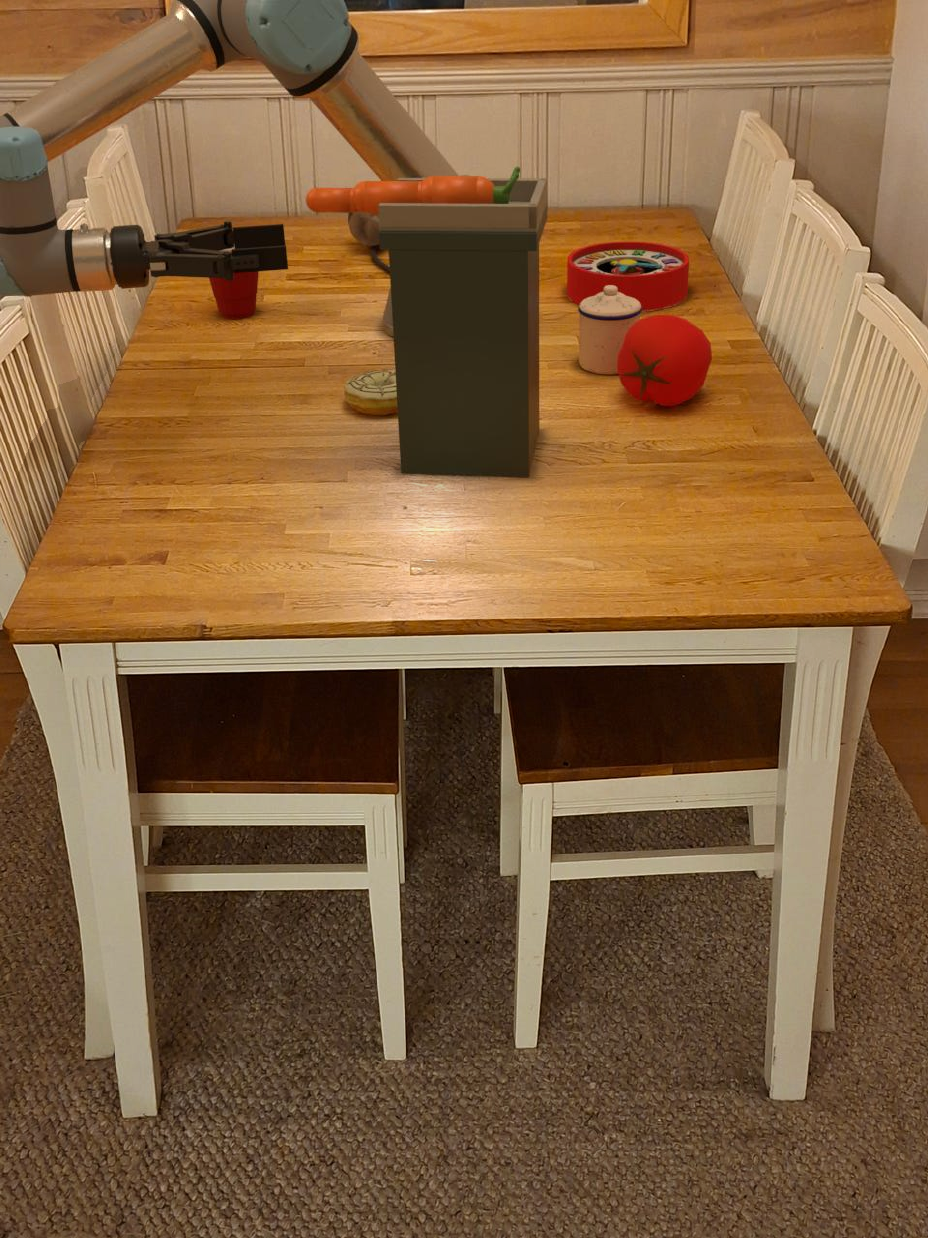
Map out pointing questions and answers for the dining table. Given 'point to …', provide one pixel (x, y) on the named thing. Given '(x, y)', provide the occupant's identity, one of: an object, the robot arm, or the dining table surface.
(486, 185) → the carrot
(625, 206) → the dining table surface
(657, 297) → the toy clock
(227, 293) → the plastic cup
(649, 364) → the tomato
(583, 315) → the teacup with lid
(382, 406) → the decorated donut
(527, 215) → the stand
